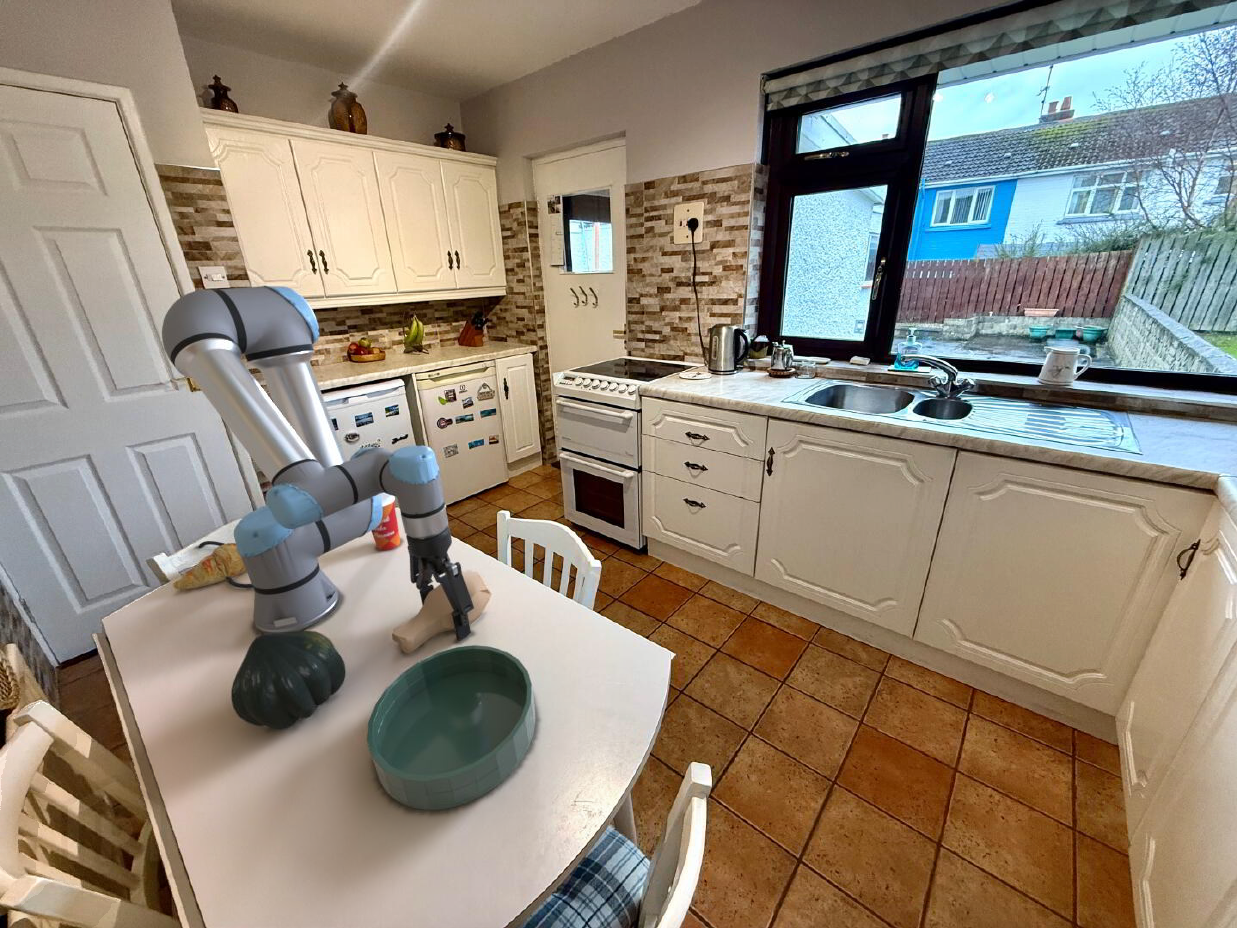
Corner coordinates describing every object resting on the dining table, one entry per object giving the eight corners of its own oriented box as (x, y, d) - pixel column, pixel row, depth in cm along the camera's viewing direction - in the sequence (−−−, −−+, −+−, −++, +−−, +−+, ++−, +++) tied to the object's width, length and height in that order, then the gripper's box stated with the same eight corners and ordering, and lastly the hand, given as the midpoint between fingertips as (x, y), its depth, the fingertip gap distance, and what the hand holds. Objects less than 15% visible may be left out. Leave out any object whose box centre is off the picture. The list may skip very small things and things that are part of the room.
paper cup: (366, 551, 123) (352, 502, 118) (384, 535, 130) (372, 489, 125) (394, 553, 122) (382, 504, 117) (411, 537, 129) (400, 490, 124)
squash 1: (359, 686, 77) (318, 603, 79) (249, 753, 68) (205, 656, 70) (353, 690, 88) (317, 617, 90) (257, 748, 79) (219, 665, 80)
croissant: (187, 610, 109) (181, 590, 104) (163, 581, 112) (156, 560, 107) (286, 561, 125) (285, 542, 121) (264, 537, 128) (261, 517, 123)
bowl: (347, 745, 74) (336, 717, 71) (474, 651, 91) (469, 626, 88) (436, 849, 60) (427, 819, 58) (566, 716, 77) (563, 689, 75)
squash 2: (504, 609, 102) (499, 580, 97) (418, 675, 89) (407, 646, 84) (473, 582, 108) (467, 554, 102) (388, 641, 95) (376, 612, 90)
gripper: (483, 539, 85) (499, 637, 94) (412, 504, 98) (431, 593, 107) (446, 559, 79) (466, 661, 88) (376, 519, 92) (399, 612, 101)
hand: (447, 624), depth 97 cm, fingers closed on squash 2, 10 cm apart
